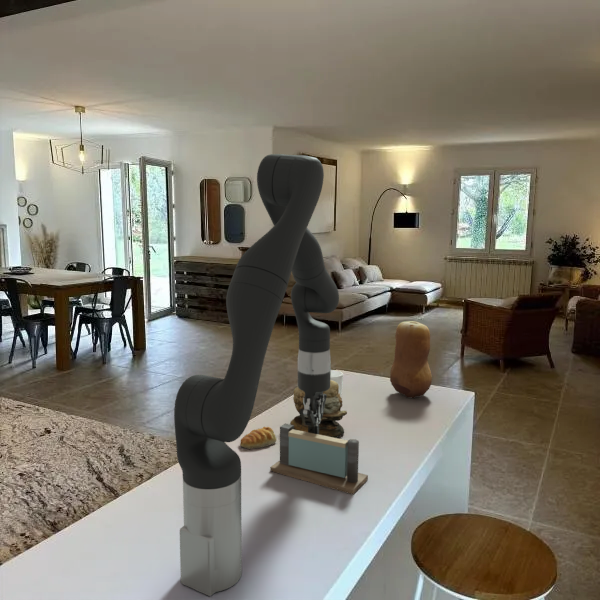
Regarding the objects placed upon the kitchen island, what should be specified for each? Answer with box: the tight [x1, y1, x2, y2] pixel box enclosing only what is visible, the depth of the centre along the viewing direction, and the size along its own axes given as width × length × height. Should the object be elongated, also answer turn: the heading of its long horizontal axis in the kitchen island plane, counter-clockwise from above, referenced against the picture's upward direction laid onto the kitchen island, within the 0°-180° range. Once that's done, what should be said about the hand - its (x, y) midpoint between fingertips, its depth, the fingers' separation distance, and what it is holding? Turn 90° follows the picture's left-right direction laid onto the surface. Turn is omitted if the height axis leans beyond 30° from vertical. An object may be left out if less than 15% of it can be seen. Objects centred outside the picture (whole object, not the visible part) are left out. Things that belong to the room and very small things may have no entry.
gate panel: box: [288, 429, 349, 478], centre depth 124 cm, size 2×14×8 cm, turn 63°
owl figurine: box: [289, 380, 348, 438], centre depth 151 cm, size 18×12×17 cm, turn 50°
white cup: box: [330, 369, 344, 398], centre depth 173 cm, size 8×8×10 cm
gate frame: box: [269, 423, 369, 495], centre depth 124 cm, size 8×21×10 cm, turn 60°
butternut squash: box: [389, 320, 433, 399], centre depth 180 cm, size 14×13×25 cm
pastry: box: [239, 426, 277, 450], centre depth 142 cm, size 9×7×4 cm
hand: (313, 439), depth 128 cm, fingers closed
